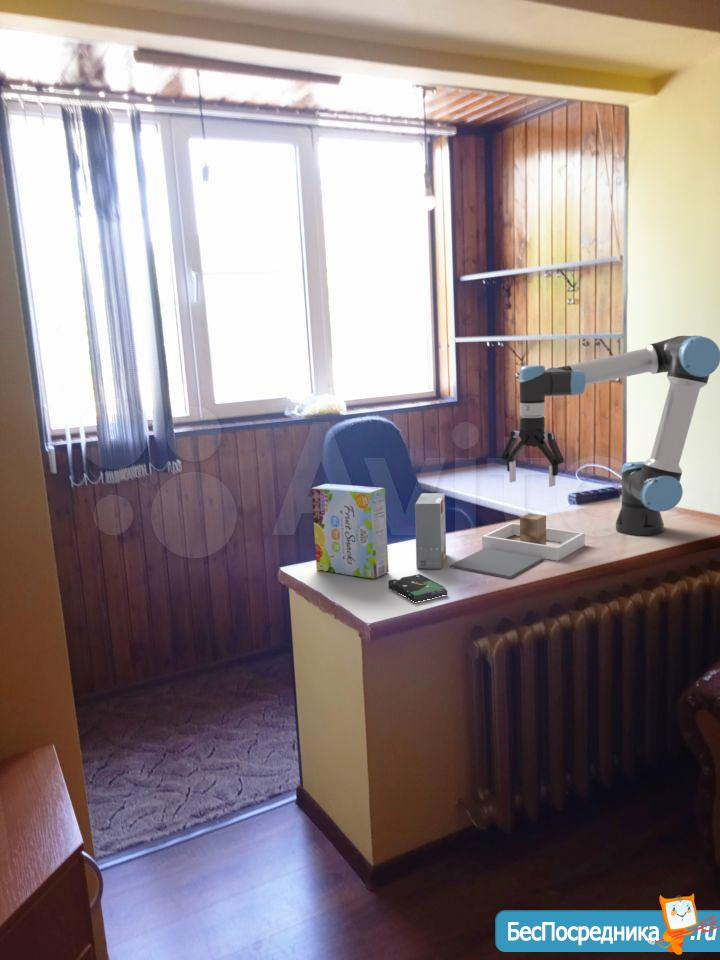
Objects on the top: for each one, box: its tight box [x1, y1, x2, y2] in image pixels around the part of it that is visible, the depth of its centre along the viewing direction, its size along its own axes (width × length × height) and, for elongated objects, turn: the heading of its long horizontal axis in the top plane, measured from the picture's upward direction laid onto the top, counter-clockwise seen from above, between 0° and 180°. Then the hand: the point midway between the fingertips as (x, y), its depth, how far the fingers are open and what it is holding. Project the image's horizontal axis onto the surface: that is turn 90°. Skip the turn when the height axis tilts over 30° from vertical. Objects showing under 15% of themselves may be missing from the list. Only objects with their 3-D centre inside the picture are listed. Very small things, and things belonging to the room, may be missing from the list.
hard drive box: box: [414, 492, 447, 570], centre depth 231 cm, size 16×8×20 cm, turn 168°
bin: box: [481, 522, 586, 562], centre depth 242 cm, size 26×19×4 cm
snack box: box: [310, 483, 390, 580], centre depth 225 cm, size 22×9×26 cm, turn 56°
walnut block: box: [519, 512, 547, 545], centre depth 241 cm, size 6×6×10 cm
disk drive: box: [388, 573, 448, 602], centre depth 207 cm, size 10×3×15 cm
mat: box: [449, 548, 544, 580], centre depth 227 cm, size 20×20×1 cm
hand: (532, 483), depth 238 cm, fingers open, 13 cm apart
